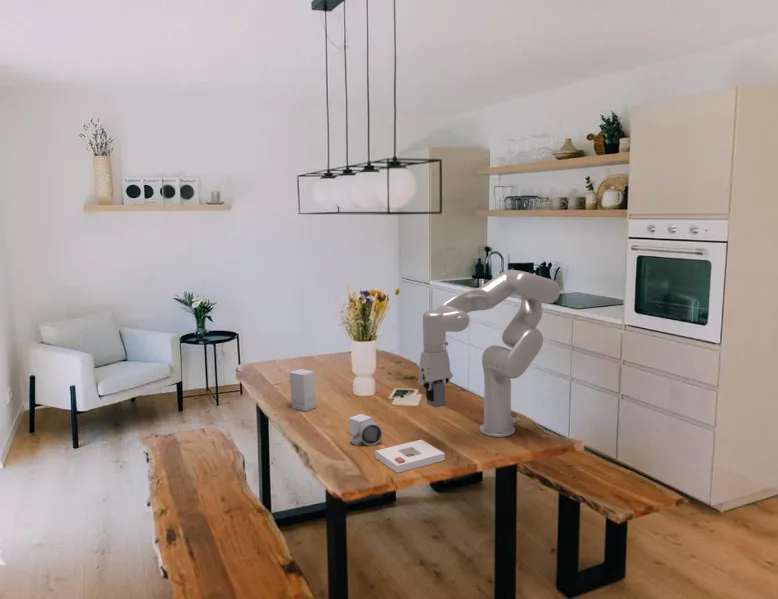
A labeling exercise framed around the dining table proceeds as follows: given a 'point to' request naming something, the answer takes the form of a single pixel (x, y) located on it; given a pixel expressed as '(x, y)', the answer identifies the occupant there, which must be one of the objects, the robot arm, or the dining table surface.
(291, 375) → the skincare box
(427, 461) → the socket plate
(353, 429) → the light grey cube
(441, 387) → the plug
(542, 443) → the dining table surface
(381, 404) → the dining table surface
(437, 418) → the dining table surface
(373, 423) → the ceramic mug
